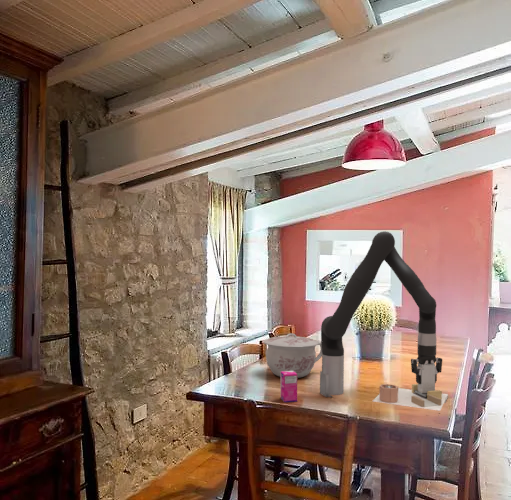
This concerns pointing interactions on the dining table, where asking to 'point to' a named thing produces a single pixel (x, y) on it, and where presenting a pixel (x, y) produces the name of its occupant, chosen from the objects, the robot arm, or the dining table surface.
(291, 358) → the chamber pot
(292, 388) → the supplement box
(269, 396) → the dining table surface
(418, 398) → the white square board
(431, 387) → the skincare box
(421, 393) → the plate
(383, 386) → the cup
